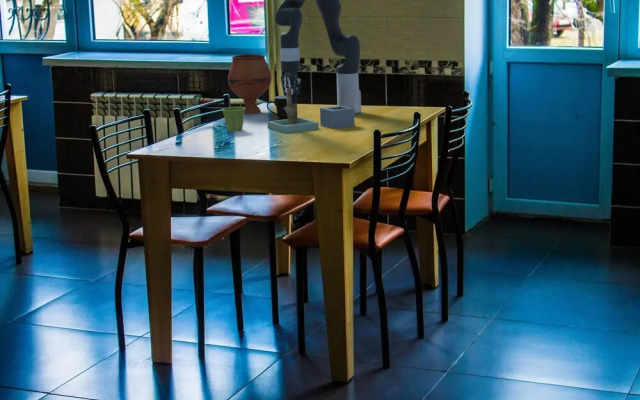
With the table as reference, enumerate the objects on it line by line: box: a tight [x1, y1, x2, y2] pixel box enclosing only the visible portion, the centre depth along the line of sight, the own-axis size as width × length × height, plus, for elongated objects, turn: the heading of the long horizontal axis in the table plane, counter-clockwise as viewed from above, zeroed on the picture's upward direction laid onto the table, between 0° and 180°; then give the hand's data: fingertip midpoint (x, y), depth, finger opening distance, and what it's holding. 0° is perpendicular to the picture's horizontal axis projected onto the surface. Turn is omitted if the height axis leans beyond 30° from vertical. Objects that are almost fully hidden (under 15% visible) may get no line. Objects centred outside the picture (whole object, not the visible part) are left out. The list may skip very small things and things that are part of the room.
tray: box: [267, 117, 320, 134], centre depth 413 cm, size 15×15×3 cm
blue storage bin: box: [319, 105, 356, 130], centre depth 415 cm, size 10×10×7 cm
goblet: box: [227, 53, 272, 115], centre depth 454 cm, size 19×19×25 cm
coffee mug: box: [266, 95, 288, 120], centre depth 431 cm, size 12×9×10 cm
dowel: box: [285, 88, 299, 124], centre depth 411 cm, size 4×4×14 cm
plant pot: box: [221, 106, 245, 132], centre depth 413 cm, size 9×9×9 cm
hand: (291, 102), depth 411 cm, fingers closed on dowel, 4 cm apart
